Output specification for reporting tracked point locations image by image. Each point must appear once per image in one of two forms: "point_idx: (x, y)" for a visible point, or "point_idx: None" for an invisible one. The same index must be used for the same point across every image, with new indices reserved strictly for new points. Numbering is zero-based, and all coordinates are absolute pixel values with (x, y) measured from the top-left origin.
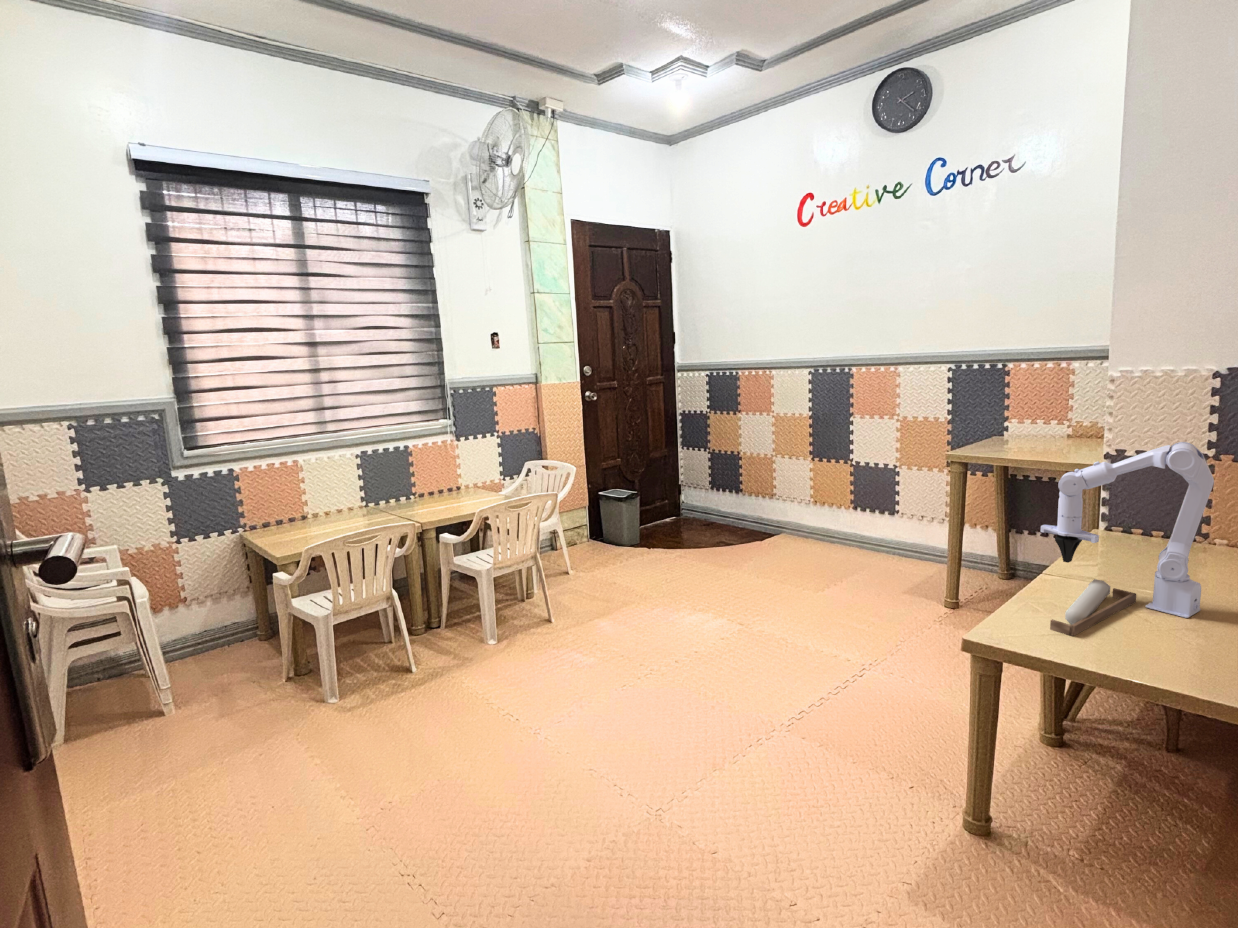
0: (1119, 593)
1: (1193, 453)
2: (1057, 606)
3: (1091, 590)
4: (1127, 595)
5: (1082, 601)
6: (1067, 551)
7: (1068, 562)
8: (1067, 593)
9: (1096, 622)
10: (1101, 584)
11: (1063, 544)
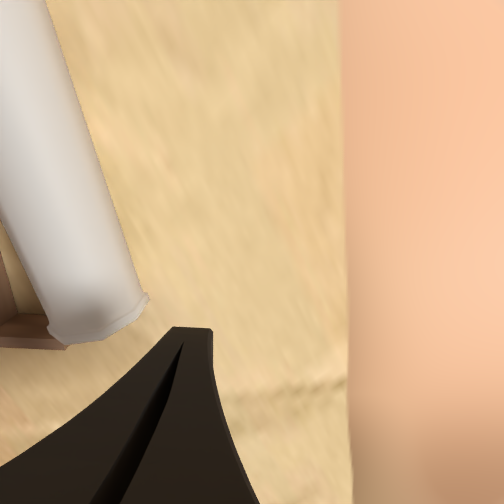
0: (45, 329)
1: None
2: (155, 38)
3: (11, 179)
4: (13, 328)
5: None
6: (121, 399)
7: (169, 330)
8: (212, 245)
9: None
10: (48, 302)
11: (127, 495)
